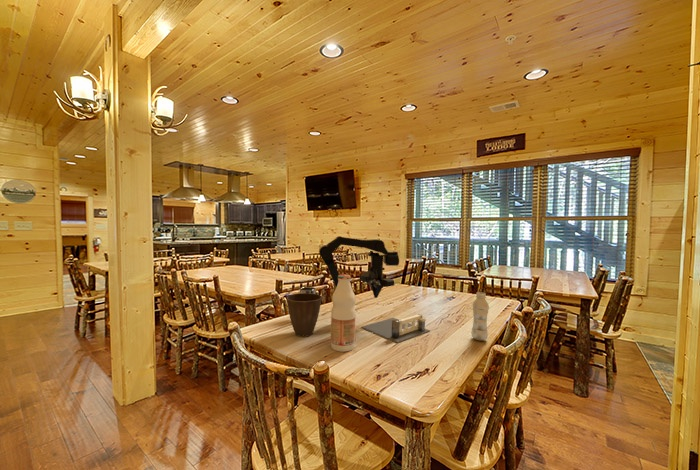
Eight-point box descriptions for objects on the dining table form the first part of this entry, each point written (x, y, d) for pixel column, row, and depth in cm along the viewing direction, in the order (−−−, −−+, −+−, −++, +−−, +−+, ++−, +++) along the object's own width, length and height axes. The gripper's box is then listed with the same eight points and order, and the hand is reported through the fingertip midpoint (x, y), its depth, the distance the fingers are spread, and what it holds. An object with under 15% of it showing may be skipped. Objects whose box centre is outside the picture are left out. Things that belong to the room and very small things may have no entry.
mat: (397, 343, 117) (397, 342, 117) (361, 327, 134) (361, 326, 134) (429, 331, 131) (429, 330, 131) (393, 318, 148) (393, 317, 148)
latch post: (422, 333, 128) (422, 320, 128) (417, 331, 130) (418, 318, 130) (425, 332, 130) (425, 319, 130) (420, 330, 132) (421, 317, 131)
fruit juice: (327, 350, 108) (328, 276, 108) (334, 340, 118) (336, 272, 117) (351, 353, 106) (353, 278, 105) (357, 343, 115) (358, 274, 114)
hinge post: (395, 340, 120) (395, 322, 119) (389, 338, 122) (390, 320, 122) (400, 338, 121) (400, 321, 121) (394, 336, 124) (395, 319, 123)
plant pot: (279, 333, 124) (279, 296, 124) (306, 325, 135) (307, 291, 135) (300, 343, 114) (301, 303, 114) (328, 333, 125) (328, 297, 125)
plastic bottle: (486, 338, 124) (488, 292, 124) (488, 344, 118) (490, 295, 117) (470, 335, 126) (472, 290, 126) (471, 341, 120) (473, 294, 119)
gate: (399, 335, 122) (399, 321, 122) (396, 334, 123) (396, 320, 123) (422, 327, 132) (422, 315, 132) (419, 326, 133) (419, 314, 133)
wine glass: (308, 321, 140) (308, 291, 140) (295, 318, 144) (296, 288, 144) (318, 317, 147) (318, 288, 146) (306, 314, 151) (306, 286, 151)
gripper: (351, 264, 141) (350, 295, 141) (378, 269, 126) (377, 304, 127) (368, 262, 148) (367, 293, 148) (395, 267, 133) (394, 301, 134)
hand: (375, 297), depth 139 cm, fingers closed
